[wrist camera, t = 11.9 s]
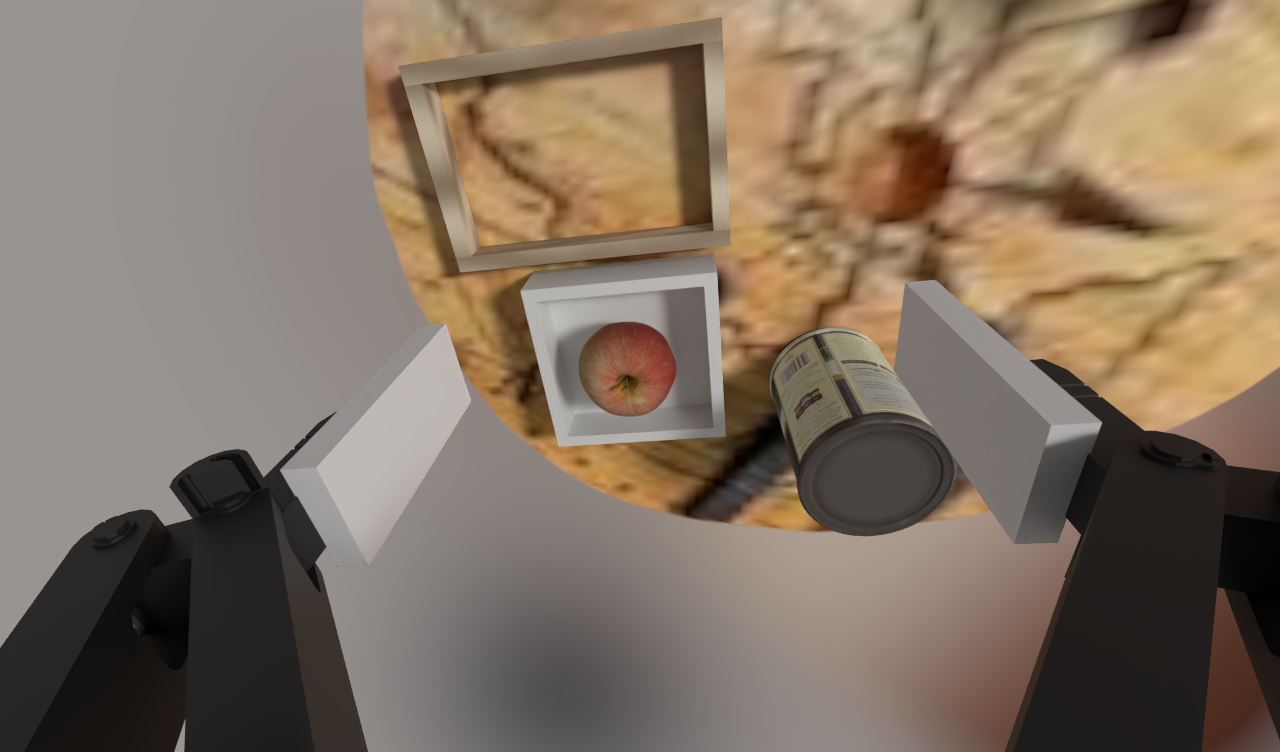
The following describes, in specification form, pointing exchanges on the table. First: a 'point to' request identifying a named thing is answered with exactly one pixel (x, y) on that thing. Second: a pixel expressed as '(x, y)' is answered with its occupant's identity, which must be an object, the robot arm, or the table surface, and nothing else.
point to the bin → (630, 292)
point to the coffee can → (857, 436)
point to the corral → (427, 74)
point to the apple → (627, 368)
